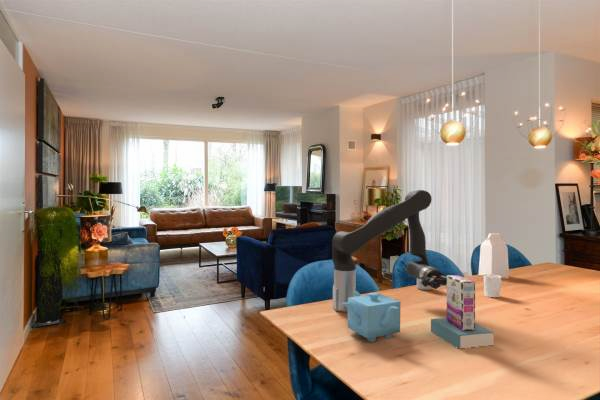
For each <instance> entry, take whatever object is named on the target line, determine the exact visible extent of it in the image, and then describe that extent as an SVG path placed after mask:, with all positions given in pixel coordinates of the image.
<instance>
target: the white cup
mask: <svg viewBox="0 0 600 400" xmlns="http://www.w3.org/2000/svg"><path fill="white" fill-rule="evenodd" d="M501 288H502V279H501V276H499V275H494V274H485V275H484V276H483V293H484V296H485V297H486V298H491V297H494V298H493V299H496V298H495V297H499V298H500V297H501Z"/></svg>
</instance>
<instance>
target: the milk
mask: <svg viewBox="0 0 600 400" xmlns="http://www.w3.org/2000/svg"><path fill="white" fill-rule="evenodd" d="M508 250H509V249H508V245H507V243H505V241H504V240H503V239H502V238H501V235H500V233H498V232H497V233H496V232H495V233H488V235H487V238H486V239H485V240H484V241H482V242H481V244H480V248H479V263H478V264H479V265H478V276H481V275H485V274H494V275H499V276H501V277H506V276H509V277H510V273H509V272H510V269H509V268H510V266H509V252H508Z"/></svg>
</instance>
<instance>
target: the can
mask: <svg viewBox="0 0 600 400" xmlns="http://www.w3.org/2000/svg"><path fill="white" fill-rule="evenodd" d="M416 288H417V289H418V290H421V291H430V290H431V289H433V288H432V287H429V286H428V285H427V287H425V286H423V285H422V284H421V283H420V279H417V278H416Z"/></svg>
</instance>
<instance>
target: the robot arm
mask: <svg viewBox="0 0 600 400" xmlns="http://www.w3.org/2000/svg"><path fill="white" fill-rule="evenodd" d="M432 201H433V200H432V195H431V194H430V193H429V192H428V191H427V190H423V189H418V190H414V191H413V190H412V191H409V192H408V193H407V194H406V195H405V197H404V200H403V201H402V202H399V203H396V204H392V205H390V206H388V207H385V208H383V209H381V210H379V211H378V212H376V213H375V214H372V216H371V217H369V218H368V220H367V222H366V223H365V224H364V225H363V226H361V227H358V228H357V229H355V230H353V231H351V232H349V231H344V230H342V231H338V232H336V233H335V234H334V235H333V237H332V242H331V254H332V255H331V258H332V263H333V269H334V270H333V285H332V308H333V309H334V311H335V312H343V313H344V312H345V313H346V312H347V313H348V309H347V307H346V306H345V305H344V304H342V303H344V302H348V298H350V297H356V296H355V294H354V292H353V291H356V289H357V288H356V280H357V278H356V277H357V275H356V274H357V273H356V271H357V267H356V262H355V261H354V259H353V256H352V255H353V254H355V253H356V252H358V251H359V250H361V248H363V247H364V246H366V245H367V244H368V243H369V242H370V241H372V240H374V239H376V238H378V237H379V236H381V235H383V234H385V233H386V232H388V231H390V230H391V229H393V228H395V227H396V226H398V225H399V224H401V223H403V221H406V220H407V223H408V224H407V225H408V230H409V231H408V232H409V233H408V234H409V253H410V255H411V256H413V257H414V256H415V257H418V258H419V260H411V261H408V262H407V263H406V265H405V271H406V274H407V275H408V276H409V277H411V278H413V279H416V280H417V279H420V283H421V284H422V285H423V286H425V287H427V285H428V286H429V287H432V288H431V289H433V290H437V289H439V288H441V287H446V288H447V276H445V275H444V273H443V272H442V271H441V270H440V269H437V268H436V267H433V266H431V265H430V263H429V259H428V255H427V249H426V248H427V247H426V246H427V245H426V240H427V239H426V233H425V231H424V230H423V227H422V223H421V221H420V212H421V211H425V210H426V209H428V208H429V207H430V206H431V204H432Z"/></svg>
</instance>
